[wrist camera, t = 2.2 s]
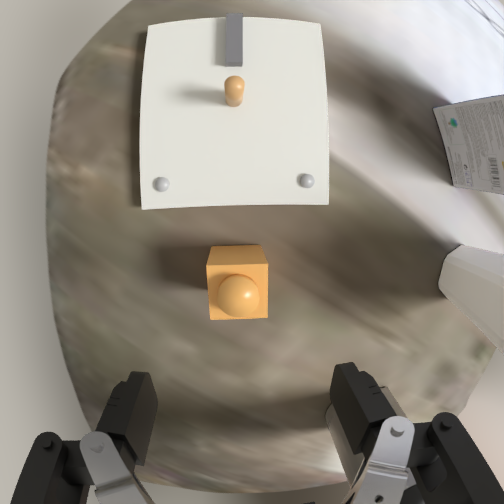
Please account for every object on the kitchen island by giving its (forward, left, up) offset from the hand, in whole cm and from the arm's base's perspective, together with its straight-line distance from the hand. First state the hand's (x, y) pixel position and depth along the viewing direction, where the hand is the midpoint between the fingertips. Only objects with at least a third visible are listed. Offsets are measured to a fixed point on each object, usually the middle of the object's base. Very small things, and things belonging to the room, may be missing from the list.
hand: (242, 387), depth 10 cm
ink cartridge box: (-26, -14, -16) cm, 34 cm away
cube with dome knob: (0, 0, -15) cm, 15 cm away
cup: (-28, +2, -16) cm, 32 cm away
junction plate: (0, -15, -15) cm, 22 cm away
